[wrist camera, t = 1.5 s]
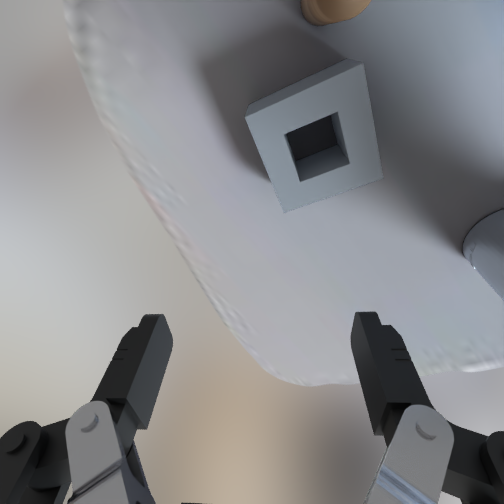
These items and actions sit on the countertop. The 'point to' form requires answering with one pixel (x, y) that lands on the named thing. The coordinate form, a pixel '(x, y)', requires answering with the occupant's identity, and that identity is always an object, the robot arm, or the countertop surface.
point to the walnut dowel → (331, 10)
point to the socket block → (307, 111)
